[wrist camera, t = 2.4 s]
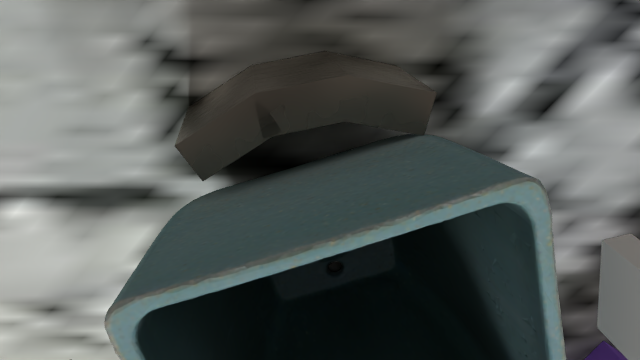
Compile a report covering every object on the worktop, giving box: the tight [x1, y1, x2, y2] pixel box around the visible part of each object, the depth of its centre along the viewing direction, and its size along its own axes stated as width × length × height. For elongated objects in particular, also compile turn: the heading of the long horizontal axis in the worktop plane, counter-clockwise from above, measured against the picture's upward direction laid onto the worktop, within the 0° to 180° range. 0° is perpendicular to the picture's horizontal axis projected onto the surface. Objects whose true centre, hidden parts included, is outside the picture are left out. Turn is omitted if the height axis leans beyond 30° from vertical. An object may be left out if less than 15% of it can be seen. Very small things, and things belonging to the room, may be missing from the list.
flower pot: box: [104, 134, 566, 360], centre depth 16 cm, size 9×9×9 cm
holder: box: [175, 51, 436, 181], centre depth 18 cm, size 12×7×4 cm, turn 9°
